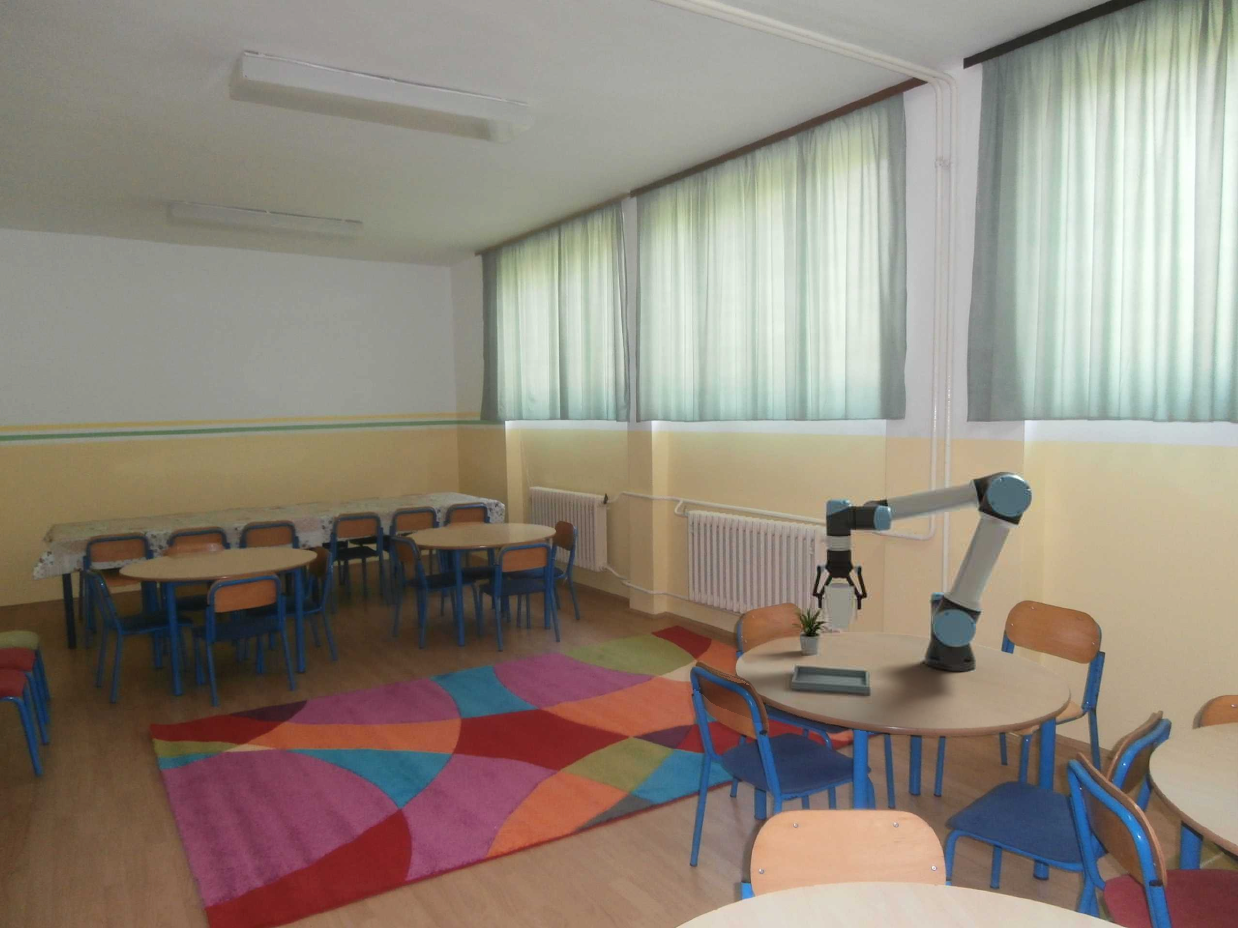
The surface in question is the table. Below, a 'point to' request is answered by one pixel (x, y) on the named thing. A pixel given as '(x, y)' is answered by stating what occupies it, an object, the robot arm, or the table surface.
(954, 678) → the table surface
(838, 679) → the tray
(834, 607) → the foam cup
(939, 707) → the table surface
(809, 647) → the house plant
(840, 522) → the robot arm
